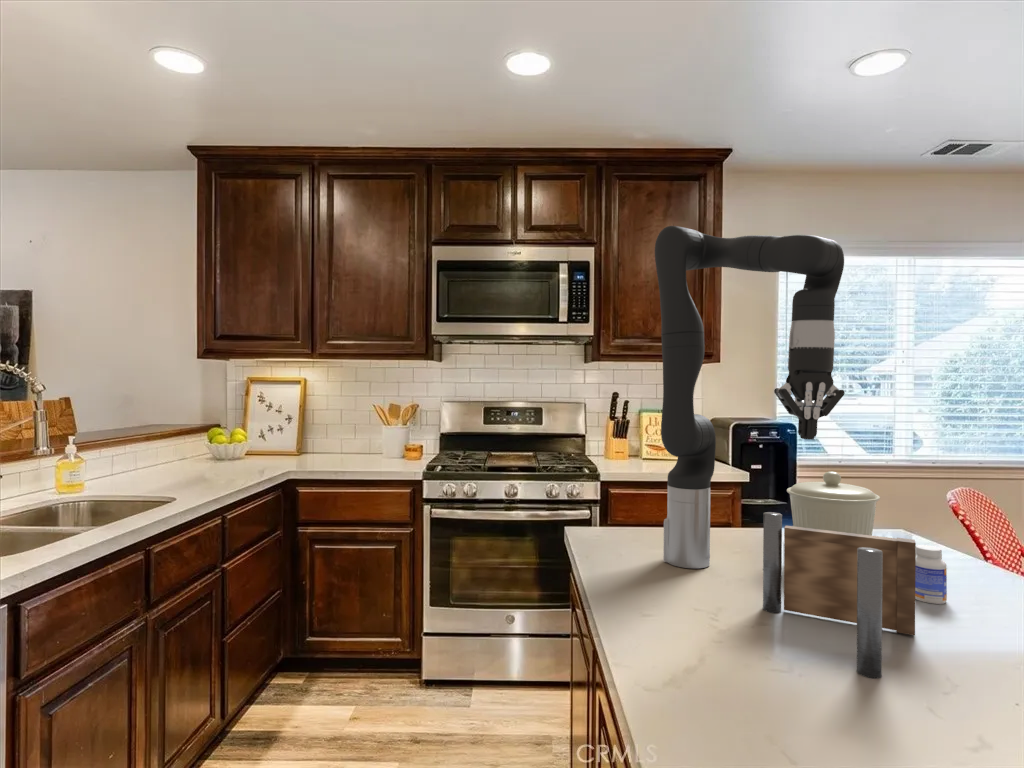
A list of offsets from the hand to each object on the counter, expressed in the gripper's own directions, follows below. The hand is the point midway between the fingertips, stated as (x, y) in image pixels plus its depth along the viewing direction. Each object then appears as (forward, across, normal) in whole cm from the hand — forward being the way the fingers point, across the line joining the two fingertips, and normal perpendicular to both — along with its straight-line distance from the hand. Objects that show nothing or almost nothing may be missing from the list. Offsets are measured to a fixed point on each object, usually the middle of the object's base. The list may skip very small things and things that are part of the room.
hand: (806, 438), depth 111 cm
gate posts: (+29, +8, +17) cm, 35 cm away
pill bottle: (+30, -24, +3) cm, 38 cm away
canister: (+31, -18, -18) cm, 40 cm away
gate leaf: (+29, -1, +12) cm, 32 cm away
